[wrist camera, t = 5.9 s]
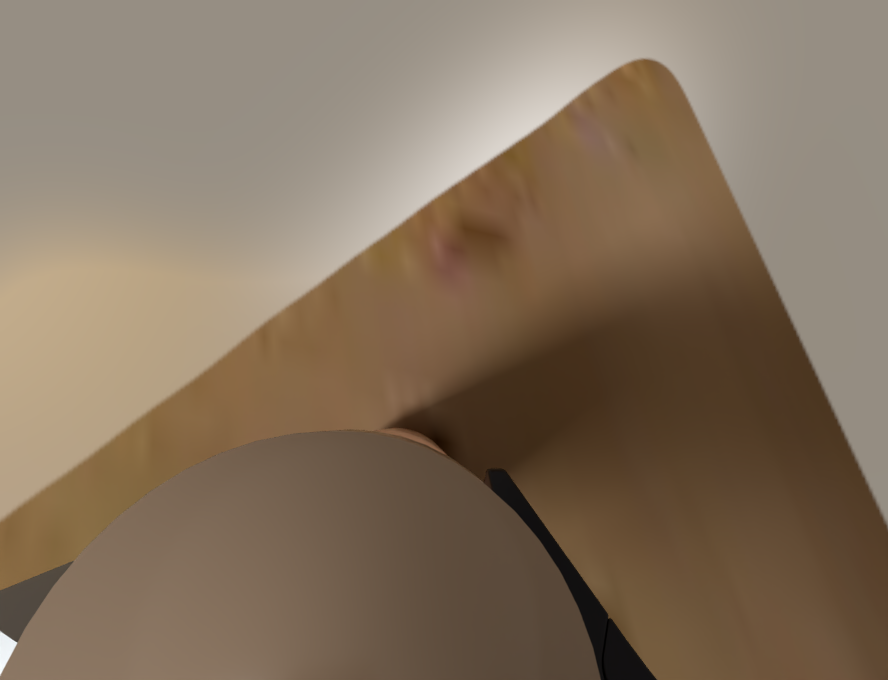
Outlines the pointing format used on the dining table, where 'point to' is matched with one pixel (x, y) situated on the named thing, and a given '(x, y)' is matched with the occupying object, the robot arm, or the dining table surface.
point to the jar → (312, 576)
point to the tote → (23, 608)
